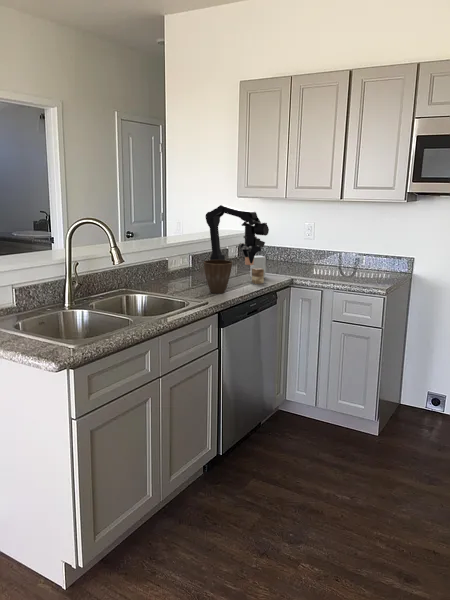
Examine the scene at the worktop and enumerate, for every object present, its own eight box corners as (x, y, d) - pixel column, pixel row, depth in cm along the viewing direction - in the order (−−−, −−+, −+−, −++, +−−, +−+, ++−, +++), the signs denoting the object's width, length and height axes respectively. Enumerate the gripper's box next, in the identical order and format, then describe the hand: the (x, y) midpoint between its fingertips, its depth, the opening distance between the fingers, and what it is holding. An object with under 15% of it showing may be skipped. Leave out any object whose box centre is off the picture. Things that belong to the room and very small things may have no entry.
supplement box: (265, 277, 306) (266, 257, 303) (254, 278, 304) (254, 257, 301) (261, 275, 313) (261, 255, 310) (249, 276, 310) (250, 255, 308)
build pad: (253, 285, 284) (253, 284, 284) (247, 282, 292) (247, 281, 292) (268, 284, 287) (268, 283, 287) (261, 281, 296) (261, 280, 296)
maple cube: (255, 283, 287) (255, 276, 286) (251, 282, 291) (251, 275, 290) (263, 283, 288) (263, 276, 288) (259, 281, 293) (259, 274, 292)
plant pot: (212, 288, 275) (212, 258, 272) (236, 290, 269) (237, 261, 265) (198, 293, 262) (198, 262, 259) (223, 296, 256) (223, 264, 252)
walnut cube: (255, 276, 286) (255, 269, 285) (251, 275, 290) (252, 268, 289) (263, 276, 288) (263, 269, 287) (259, 274, 292) (260, 267, 291)
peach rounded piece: (247, 265, 279) (247, 258, 278) (243, 264, 284) (243, 256, 283) (255, 264, 281) (255, 257, 280) (251, 263, 285) (251, 256, 284)
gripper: (270, 235, 273) (269, 264, 276) (256, 232, 290) (256, 259, 293) (251, 236, 269) (250, 265, 273) (238, 232, 286) (238, 260, 290)
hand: (249, 262), depth 282 cm, fingers closed on peach rounded piece, 5 cm apart
